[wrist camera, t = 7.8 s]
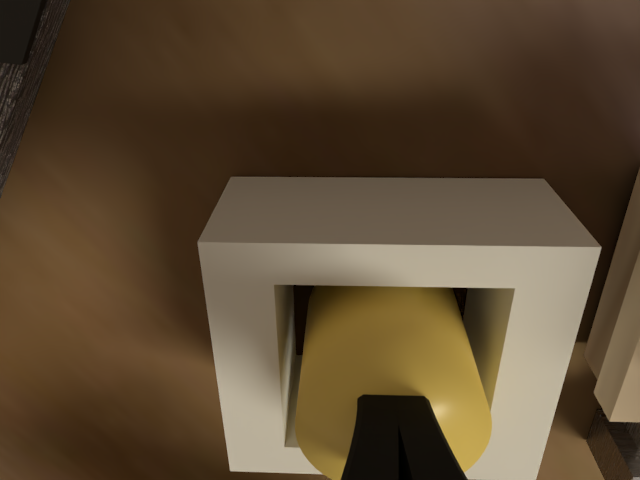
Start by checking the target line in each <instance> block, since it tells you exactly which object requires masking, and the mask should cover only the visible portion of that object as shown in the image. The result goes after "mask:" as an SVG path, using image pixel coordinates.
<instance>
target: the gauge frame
mask: <svg viewBox="0 0 640 480" xmlns="http://www.w3.org/2000/svg"><path fill="white" fill-rule="evenodd" d="M197 243H198V250H199V257H200V264H201V271H202V278H203V285H204V292H205V299H206V306H207V313H208V320H209V327H210V334H211V341H212V348H213V355H214V362H215V369H216V376H217V383H218V390H219V397H220V404H221V411H222V418H223V425H224V432H225V439H226V446H227V453H228V460H229V467H230V471H239V472H269V473H299V474H322V473H321V472H320V471H318V470H317V469H316V468H315V467H314V466H313V465H312V464H311V463H310V462H309V461H308V460H307V458H306V457H305V456H304V454H303V453H302V451H301V449H300V447H299V445H298V442H297V439H296V433H295V417H296V409H297V400H298V391H299V382H300V373H301V365H302V356H303V355H296V337H295V315H294V293H293V285H332V286H394V287H456V288H468V289H467V296H466V303H465V309H464V316H463V324H464V327H465V330H466V333H467V337H468V340H469V343H470V347H471V350H472V353H473V356H474V360H475V363H476V366H477V369H478V373H479V376H480V379H481V383H482V386H483V389H484V392H485V396H486V399H487V402H488V406H489V409H490V413H491V417H492V431H491V437H490V440H489V443H488V445H487V447H486V449H485V451H484V453H483V454H482V455H481V457H480V458H479V460H478V461H477V462H476V463H475V464H474V465H473V466H472V467H471V468H469V469H468V470H467V471H466V472H464V474H465V476H466V477H467V479H480V480H536V478H537V474H538V471H539V467H540V464H541V460H542V457H543V453H544V449H545V446H546V442H547V439H548V435H549V432H550V428H551V425H552V421H553V418H554V414H555V411H556V407H557V403H558V400H559V396H560V393H561V389H562V386H563V382H564V379H565V375H566V372H567V368H568V365H569V361H570V358H571V354H572V350H573V347H574V343H575V340H576V336H577V333H578V329H579V326H580V322H581V319H582V315H583V312H584V308H585V305H586V301H587V297H588V294H589V290H590V287H591V283H592V280H593V276H594V273H595V269H596V266H597V262H598V259H599V255H600V251H601V248H602V247H601V246H600V245H599V243H598V242H597V241H596V240H595V239H594V237H593V236H592V235H591V234H590V233H589V232H588V230H587V229H586V228H585V227H584V226H583V224H582V223H581V222H580V221H579V220H578V218H577V217H576V216H575V215H574V214H573V213H572V211H571V210H570V209H569V208H568V207H567V205H566V204H565V203H564V202H563V201H562V200H561V198H560V197H559V196H558V195H557V194H556V192H555V191H554V190H553V189H552V188H551V186H550V185H549V184H548V183H547V182H546V181H545V179H523V178H364V177H231V178H230V180H229V181H228V183H227V185H226V187H225V189H224V191H223V193H222V195H221V197H220V199H219V201H218V203H217V205H216V207H215V209H214V211H213V213H212V215H211V217H210V219H209V220H208V222H207V224H206V226H205V228H204V230H203V232H202V234H201V236H200V238H199V240H198V242H197Z"/></svg>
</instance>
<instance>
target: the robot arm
mask: <svg viewBox="0 0 640 480" xmlns="http://www.w3.org/2000/svg"><path fill="white" fill-rule="evenodd" d="M341 480H468V479H467V477H466V476H465V474H464V472H463V470H462V469H461V467H460V465H459V463H458V461H457V459H456V457H455V456H454V454H453V452H452V450H451V448H450V446H449V444H448V442H447V440H446V438H445V436H444V434H443V432H442V429H441V427H440V425H439V423H438V421H437V419H436V416H435V414H434V412H433V409H432V407H431V404H430V401H429V400H428V399H427V398H426V397H425V396H408V395H368V394H363V395H362V396H360V397H359V398H357V415H356V422H355V428H354V433H353V437H352V441H351V446H350V450H349V454H348V457H347V460H346V464H345V467H344V470H343V474H342V477H341Z"/></svg>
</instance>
